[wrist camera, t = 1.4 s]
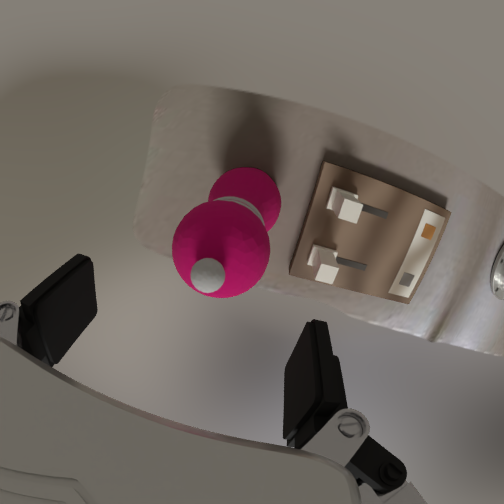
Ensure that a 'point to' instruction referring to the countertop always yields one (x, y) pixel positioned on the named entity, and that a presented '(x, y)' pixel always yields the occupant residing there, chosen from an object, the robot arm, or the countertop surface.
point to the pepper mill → (228, 234)
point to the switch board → (371, 235)
